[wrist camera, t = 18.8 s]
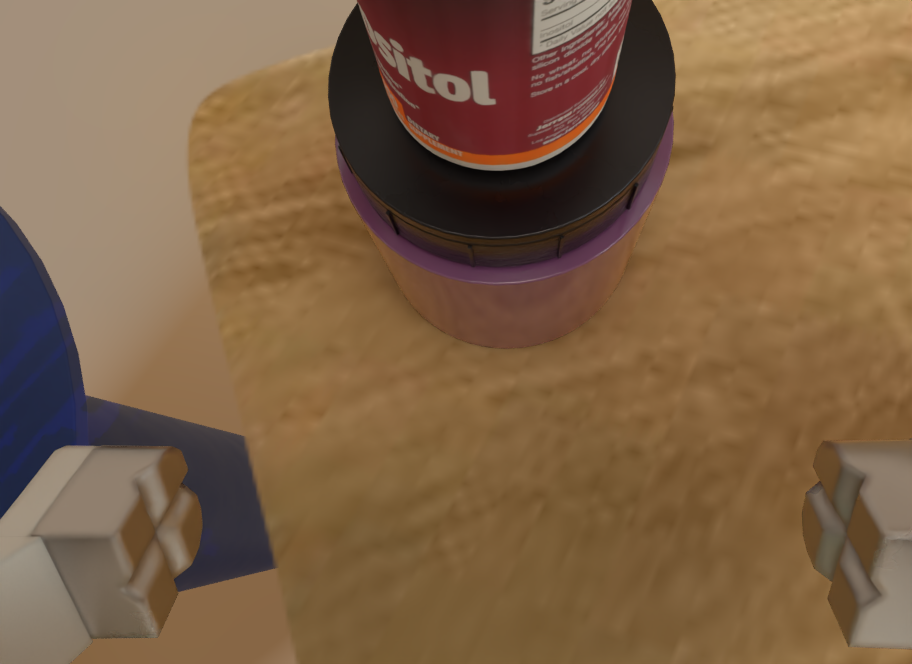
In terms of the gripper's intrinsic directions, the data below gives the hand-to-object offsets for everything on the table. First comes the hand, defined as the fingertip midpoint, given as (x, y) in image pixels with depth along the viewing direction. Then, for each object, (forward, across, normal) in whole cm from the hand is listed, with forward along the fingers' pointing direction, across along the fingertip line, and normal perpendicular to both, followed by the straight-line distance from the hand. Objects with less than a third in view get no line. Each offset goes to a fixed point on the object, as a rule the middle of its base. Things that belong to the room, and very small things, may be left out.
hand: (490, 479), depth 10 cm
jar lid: (+14, 0, -2) cm, 14 cm away
